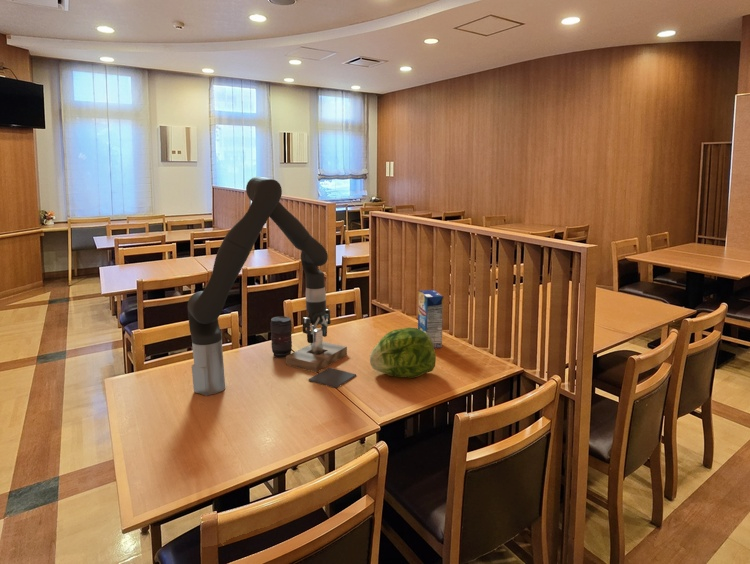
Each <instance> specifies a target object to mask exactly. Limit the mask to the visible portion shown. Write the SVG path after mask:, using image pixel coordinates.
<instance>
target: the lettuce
mask: <svg viewBox="0 0 750 564" xmlns="http://www.w3.org/2000/svg"><path fill="white" fill-rule="evenodd" d="M435 350H436V349H434V346H433V343H432V341H431V339H430V337H429V335H427V334H426V333H425V332H424V331H422V330H419V329H418V327H405V328H398V329H393V330H390V331H388V333H386V334H385V335H384V336H382V337H381V338H380V339H379V341H378V343H377V344H376V345H375V346H374V348H373V349H372V351H371V352H370V355H369V365H370V366H371V368H372V369H373V370H375V371H377V372H380V373H383V374H386V375H388V376H392V377H394V378H395V377H396V378H408V379H409V378H411V379H413V378H416V377H421V376H422V375H425V374H427V373H431V372H433V370H434V369H435V367H436V363H437V362H436V360H437V358H436V351H435Z"/></svg>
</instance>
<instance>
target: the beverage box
mask: <svg viewBox="0 0 750 564" xmlns="http://www.w3.org/2000/svg"><path fill="white" fill-rule="evenodd" d="M417 303H418V307H417V308H418V309H417V310H418V312H417V329H419V330H422V331H424V332H425V333H426V334H427V335H429V337H430V339H431V341H432V343H433V346H434V348H435V349H442V348H443V322H444V296H443V295H442V294H441V293H439V292H438V291H437V290H435V289H428V290H427V289H426V290H418V302H417Z"/></svg>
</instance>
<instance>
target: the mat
mask: <svg viewBox="0 0 750 564" xmlns="http://www.w3.org/2000/svg"><path fill="white" fill-rule="evenodd" d="M355 377H357V374H356V373H352V372H348V371H345V370H341V369H337V368H332V367H327V368H324V369H322V370H321V371H320V372H319V373H318V372H317V373H316V374H315V375H313V376H311V377H309V378H308V381H309V382H312V383H316V384H320V385H322V384H323V386H326V385H327V386H326V387H331V388H334V389H338V388H339V386H340V385H341V386H343V385H345V383H348V382H349V381H351V380H352V379H354V378H355ZM341 386H340V387H341Z"/></svg>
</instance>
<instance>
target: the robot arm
mask: <svg viewBox="0 0 750 564" xmlns="http://www.w3.org/2000/svg"><path fill="white" fill-rule="evenodd" d="M245 192H246V196H247V197H248V199H249V200H250V201H251V203H250V204H249V208H248V209H247V211H246V212H245V214H244V216H242V218H241V219H239V221H238V222H237V223H235V225H234V226H233V227H231V229H230V230H229V231H228V232H227V233H226V235H225V236H224V238H223V240H222V241H221V243H220V246H219V248H218V249H217V253H216V255H215V258H214V263H213V268H212V271H211V275H210V278H209V280H208V282H207V284H206V286H205V287H204V289H203V290H200V291H196V292H194V293H193V294H192V295H191V296H190V297H189V298H188V301H187V316H188V317H187V318H188V326H189V332H190V336H191V342H192V343H191V344H192V356H193V364H192V365H191V374H192V375H191V376H192V385H193V392H194V393H196V394H199V395H201V396H205V397H207V396H211V395H215V394H218V393H221V392H222V391H224V390H225V388H226V379H225V377H226V376H225V368H224V367H225V365H224V364H225V363H224V354H223V350H224V349H223V338H222V330H221V328H220V325H219V317H220V316H221V314H222V311H223V310H224V306H225V304H226V300H227V299H228V296H229V294H230V291H231V289H232V288H233V285H234V283H235V281H236V280H237V278H238V277H239V274H240V273H241V270H242V269H243V267H244V265H245V263H246V262H247V260H248V258H249V255H250V254H251V253H252V249H253V247H254V245H255V243H256V242H257V240H258V239H259V236H260V234H261V232H262V230H263V228H264V226H265V224H266V223H267V221H268V219H269V218H270V219H271V221H272V222H274V223H275V225H276V226H277V227H278V228H279V230H280V231H281V232H282V233H283V234H284V235H285V236H286V238H287V239H288V240H289V242H290V243H291V244H292V245H293V246H294V248H296V249H297V250H300V251H301V252H300V263H301V266H302V269H303V272H304V276H305V309H306V312H307V313H308V315H307V317H303V318H302V334H306V339H307V340H306V341H307V343H308V344H312V343H313V331H314V329H317V326H319V325H320V329H322V335H323V337H325V338H326V337H328V327H329V325H331V310H330V309H327V292H326V279H325V273H324V272H323V271H322V270H320V268H319V267H321V266H323V265H325V264H326V263H327V262H328V259H329V258H328V257H329V255H328V252H327V249H326V248H325V247H324V245H322V244H321V242H319V241H318V240H317V239H315V238H314V237H313V236H312V235H311V234H310V233H309V231H308V230H307V229H306V227H305V226H304V225H303V223H302V222H301V221H300V220H299V219H298V218H297V217H296V216H294V215H293V214H292V213H291V212H290V211H289V210H288V209H287V208H286V207H285V206H284V205H283V204H282V203H281V202H280V201H281V199H282V194H283V190H282V186H281V184H280V183H279V181H278V180H276V179H273V178H270V177H266V176H254V177H252V178H250V179H249V180H248V181H247V184H246V187H245Z"/></svg>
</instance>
